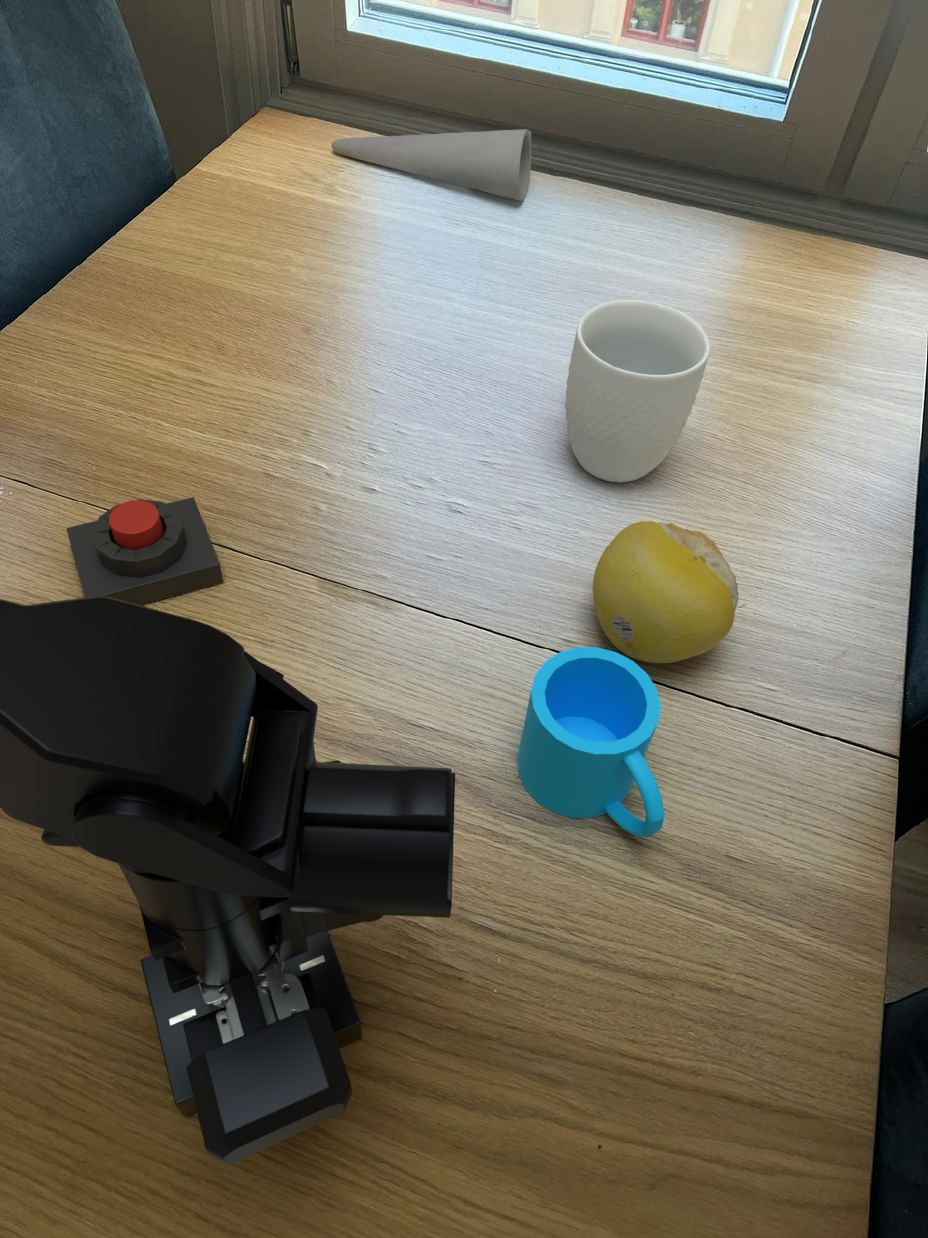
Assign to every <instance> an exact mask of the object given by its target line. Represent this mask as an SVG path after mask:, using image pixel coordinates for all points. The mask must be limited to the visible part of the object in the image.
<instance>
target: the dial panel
mask: <svg viewBox="0 0 928 1238" xmlns="http://www.w3.org/2000/svg"><path fill="white" fill-rule="evenodd" d="M306 941H307V946H308V952H305V953H303V954H300V955H298V956H295V957H293V958H290V959H288V960H285V962H286V967H287V971H288V973H289V974H293V975H295V976H296V977H299V976H301V975H304V974H306V973H309V974H310V977H311V980H312V983H313V986H314V989H315V992H316V995H317V998H318V1001H319V1004H320V1007H321V1008H326V1011H327V1014H328V1017H329V1020H330V1023H331V1026H332V1029H333V1031H334V1034H335V1037H336V1040H337V1043H338V1046H339V1049H342V1048H344V1047H346V1046H348V1045H350V1044H351V1045H352V1043H353V1044H354V1043H355V1042H358V1041H359V1040H362V1038H363V1030H362V1021H361V1018H360V1014H359V1013H358V1010H357V1007H356V1004H355V1001H354V999H353V996H352V993H351V991H350V988H349V986H348V982H347V980H346V977H345V974H344V971H343V969H342V966H341V964H340V960H339V958H338V955H337V952H336V950H335V948H334V944H333V942H332V938H331V936H330V933H329V931H325V932H320V933H317V934H314V935H312V936H309V937H307V938H306ZM140 964H141V968H142V972H143V973H142V974H143V978H144V981H145V985H146V990H147V993H148V994H147V995H148V998H149V1002H150V1007H151V1010H152V1014H153V1018H154V1023H155V1027H156V1031H157V1035H158V1039H159V1045H160V1047H161V1048H160V1049H161V1052H162V1056H163V1061H164V1064H165V1069H166V1072H167V1076H168V1082H169V1085H170V1089H171V1093H172V1098H173V1102H174V1105H175V1106H176V1108H177V1109H178V1110H179V1112H180V1113H181V1114H182V1116H183V1117H184V1118H188V1117H190V1116H193V1115H195V1114H197V1111H196V1106H195V1102H194V1098H193V1094H192V1090H191V1086H190V1081H189V1077H188V1073H187V1069H186V1067H187V1066H188V1065H189V1064H190V1063H191V1062H192V1060H191V1056H190V1051H189V1047H188V1043H187V1039H186V1035H185V1031H184V1027H183V1024H184V1023H186V1022H189V1021H191V1020H193V1019H196V1018H198V1017H201V1016H203V1015H206V1014H208V1013H211V1011H210V1009H209V1007H208V1006H207V1005H206V1004H205V1002H204V999H203V995H202V992H201V990H200V987H199V985H198V984H197V985H194V986H192V987H189V988H187V989H184V990H182V991H179V992H177V993H174V994H173V992H172V990H171V988H170V987H169V983H168V979H167V975H166V971H165V966H164V962H163V958H161V959H159V960H156V961H155V959H154V957H153V956H152V954H151V955H148V956H146V957H143V958H141V959H140Z"/></svg>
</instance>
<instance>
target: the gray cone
mask: <svg viewBox="0 0 928 1238" xmlns="http://www.w3.org/2000/svg"><path fill="white" fill-rule="evenodd" d="M331 149H332V151H333V152H334V153H336V154H339V155H342V156H346V157H349V158H352V159H356V160H360V161H363V162H366V163H371V164H375V165H377V166H378V165H379V166H383V167H386V168H391V169H394V170H398V171H402V172H407V173H409V174H410V173H411V174H414V175H418V176H421V177H425V178H429V179H433V180H436V181H441V182H445V183H449V184H452V185H457V186H460V187H465V188H468V189H473V190H477V191H480V192H483V193H484V192H485V193H488V194H490V195H495V196H498V197H503V198H507V199H511V200H515V201H519V202H523V201H525V199H526V197H527V196H526V195H527V192H528V189H529V182H530V176H531V169H532V131H531V130H529V129H528V128H527V129H526V128H525V129H524V128H522V129H502V130H501V129H500V130H488V131H486V130H485V131H467V132H466V131H465V132H464V131H463V132H446V133H445V132H443V133H442V132H441V133H426V134H406V135H405V134H403V135H383V136H382V135H381V136H367V137H345V138H339V139H335V140H333V141H332V142H331Z"/></svg>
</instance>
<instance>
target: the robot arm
mask: <svg viewBox="0 0 928 1238" xmlns="http://www.w3.org/2000/svg"><path fill="white" fill-rule="evenodd" d="M318 710H319V705H318V704H317V702H316V701H315V702H314V701H313V700H312V699H311V698H309V697H308V696H306V695H305V694H304V693H302V692H301V691H300V690H298V689H297V688H296V687H294V685H292V684H291V683H289V682H288V681H286V680H285V679H284V674H283V673H281V672H279V671H278V670H276V669H274V668H272V667H271V666H269V665H267V664H265V663H263V662H261V661H259V660H258V659H257V658H256V657H254V656H252V655H251V654H250V653H248V652H247V651H246V650H245V648H244V646H243V645H242V644H241V643H240V642H238V641H237V640H236V639H235V638H233V637H231V635H229V634H227V633H226V632H224V631H222V630H220V629H219V628H217V627H214V626H212V625H210V624H207V623H205V622H202V621H199V620H196V619H193V618H190V617H186V616H182V615H179V614H174V613H171V612H167V611H162V610H159V609H155V608H151V607H147V606H144V605H141V606H140V605H137V604H133V603H129V602H125V601H122V600H118V599H114V598H110V597H105V596H93V597H79V598H78V597H77V598H69V599H64V600H56V601H48V602H47V601H46V602H40V603H32V604H22V603H18V602H15V601H14V602H13V601H10V600H6V599H3V598H0V809H1V810H2V812H4V813H5V815H7V816H8V817H10V818H12V819H13V820H15V821H18V822H21V823H24V824H28V825H30V826H33V827H36V828H38V829H42V833H41V836H40V837H41V841H42V842H43V843H44V844H45V845H48V846H52V847H70V848H81V849H83V850H84V851H86V852H88V853H89V854H91V855H92V856H95V857H98V858H101V859H103V860H106V861H109V862H113V863H116V864H118V866H119V869H120V870H121V872H122V874H123V876H124V877H125V879H126V881H127V884H128V885H129V887H130V889H131V891H132V893H133V896H134V897H135V898H136V901H137V903H138V905H139V909H140V915H141V916H142V917H141V918H142V921H143V926H144V930H145V935H146V939H147V944H148V947H149V951H150V954H151V955H152V956H153V957H154V959H155V961H156V960H159V959H161V958H163V962H164V966H165V971H166V975H167V979H168V983H169V987H170V988H171V990H172V992H173V994H174V993H177V992H179V991H182V990H184V989H187V988H189V987H192V986H194V985H197V984H200V987H201V991H202V995H203V999H204V1002H205V1004H206V1005H207V1006H209V1007H210V1006H214V1005H217V1004H219V1003H222V1002H223V1001H225V1005H226V1006H225V1007H223V1008H220V1009H218V1010H216V1011H213V1012H211V1013H208V1014H206V1015H203V1016H201V1017H198V1018H196V1019H193V1020H191V1021H189V1022H186V1023H184V1024H183V1027H184V1031H185V1035H186V1039H187V1043H188V1047H189V1051H190V1056H191V1060H192V1062H191V1063H190V1064H189V1065H188V1066H187V1067H186V1069H187V1073H188V1077H189V1081H190V1086H191V1090H192V1094H193V1098H194V1102H195V1106H196V1111H197V1113H196V1114H197V1119H198V1123H199V1127H200V1131H201V1136H202V1139H203V1144H204V1147H205V1150H206V1152H207V1153H208V1154H209V1155H210V1156H211V1158H213V1159H214V1160H217V1161H218V1162H220V1163H223V1164H225V1165H227V1166H231V1165H233V1164H235V1163H237V1162H239V1161H242V1160H244V1159H246V1158H248V1157H251V1156H252V1155H255V1154H257V1153H259V1152H261V1151H263V1150H266V1149H268V1148H270V1147H272V1146H274V1145H276V1144H278V1143H280V1142H283V1141H285V1140H287V1139H290V1138H291V1137H294V1136H296V1135H299V1134H300V1133H302V1132H305V1131H307V1130H310V1129H311V1128H313V1127H316V1126H318V1125H319V1124H322V1123H325V1122H326V1121H329V1120H331V1119H333V1118H335V1117H337V1116H339V1115H341V1114H344V1113H345V1112H346V1109H347V1107H348V1105H349V1102H350V1100H351V1097H352V1096H353V1089H352V1082H351V1079H350V1076H349V1073H348V1070H347V1067H346V1064H345V1062H344V1058H343V1056H342V1052H341V1050H340V1049H341V1048H340V1049H339V1046H338V1043H337V1040H336V1037H335V1034H334V1031H333V1029H332V1026H331V1023H330V1020H329V1017H328V1014H327V1011H326V1008H321V1007H320V1004H319V1001H318V998H317V995H316V992H315V989H314V986H313V983H312V980H311V977H310V974H309V973H306V974H304V975H301V976H299V977H296V976H295V975H293V974H289V973H283V972H281V970H280V967H279V964H278V961H277V958H276V954H275V953H278V955H279V958H280V960H281V961H285V960H288V959H290V958H293V957H295V956H298V955H300V954H303V953H305V952H308V946H307V941H306V938H307V937H309V936H312V935H314V934H317V933H320V932H325V931H328V932H329V931H332V930H336V929H340V928H341V929H342V928H345V927H349V926H354V925H357V924H360V923H372V922H375V921H379V920H380V919H381V918H383V917H384V916H395V917H396V916H397V917H420V918H422V917H423V918H445V919H450V918H451V913H452V903H453V875H454V874H453V871H454V840H455V839H454V837H455V836H454V835H455V833H454V832H455V799H456V798H455V797H456V772H452V771H453V769H452V767H451V768H449V767H430V766H409V765H408V766H407V765H389V764H388V765H387V764H368V763H348V762H341V761H340V760H330V761H329V760H328V761H318V760H317V757H316V751H315V742H314V739H315V731H316V725H317V717H318ZM251 720H252V721H251ZM250 726H251V727H250ZM249 730H250V731H249ZM248 736H249V737H248ZM247 741H248V743H247ZM246 746H247V747H246ZM245 751H246V753H245ZM244 756H245V757H244ZM258 970H262V971H261V972H259V973H258V977H259V978H264V979H263V980H262V981H261V982H260V984H259V985H257V986H255V984H254V980H253V977H252V974H254V973H255V972H257V971H258ZM225 984H230V987H231V991H232V994H233V995H232V996H230V997H228V995H227V993H222V992H223V991H224V990H225V989H226V988H225ZM266 986H268V989H267V987H266Z"/></svg>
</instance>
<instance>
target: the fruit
mask: <svg viewBox="0 0 928 1238" xmlns="http://www.w3.org/2000/svg"><path fill="white" fill-rule="evenodd" d="M738 590H739V588H738V583H737V578H736V575H735V573H734V571H733V570H732V569H731V566H730V564H729V562H728V561H727V559H726V558H725V557H724V554H723V553H722V552H721V550H720V549H719V547H718V545H717V544H716V542H715V541H714V540H713V539H711V538H710V537H709V536H707V534H705V533H703V532H701V531H696V530H689V529H688V528H682V527H681V526H678V525H676V524H673V522H671V523H670V522H661V521H660V522H655V521H653V520H650V521H645V520H642V521H638V522H633V523H632V524H629V525H627V526H626V527H624V528H623V529H621V530H620V531H619V532H618V533H617V534H616V536H614V538H613V539H612V540H611V541H610V542H609V544H607V546H606V547H605V549H604V550H603V552H602V554H601V555H600V557H599V559H598V562H597V564H596V567H595V569H594V574H593V581H592V595H593V603H594V609H595V614H596V616H597V619H598V622H599V624H600V626H601V628H602V630H603V632H604V634H605V635H606V637H607V638H608V640H609V641H610V642H611V643H612V644H613V646H615V647H616V648H617V649H618V650H619V651H620V652H622V653H624V654H625V655H627V656H629V657H631V658H633V659H634V660H638V661H642V662H645V663H650V664H651V663H652V664H672V663H676V662H677V663H678V662H680V661H684V660H687V659H690V658H694V657H698V656H700V655H703V654H705V653H708V651H710V650H712V649H714V648H715V647H716V646H718V644H719V643H721V641H722V640H724V638H726V636H727V635H728V633H730V631H731V629H732V628H733V625H734V620H735V614H736V613H735V612H736V609H737V606H738V604H739V598H740V597H739V591H738Z"/></svg>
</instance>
